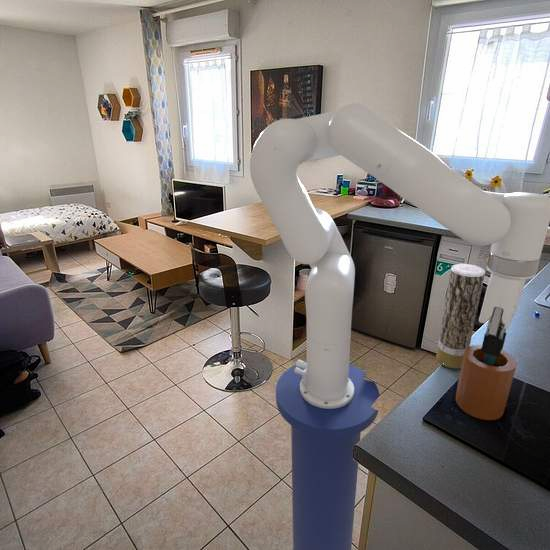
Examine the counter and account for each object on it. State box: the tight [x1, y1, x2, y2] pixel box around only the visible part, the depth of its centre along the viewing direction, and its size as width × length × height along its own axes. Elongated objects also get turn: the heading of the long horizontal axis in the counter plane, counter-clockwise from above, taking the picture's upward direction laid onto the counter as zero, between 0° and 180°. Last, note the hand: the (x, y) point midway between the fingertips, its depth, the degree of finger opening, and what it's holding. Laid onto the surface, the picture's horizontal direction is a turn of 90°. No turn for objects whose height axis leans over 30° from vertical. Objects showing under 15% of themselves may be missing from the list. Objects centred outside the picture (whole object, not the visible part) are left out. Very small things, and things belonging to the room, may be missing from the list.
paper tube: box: [435, 263, 486, 370], centre depth 86 cm, size 7×7×25 cm
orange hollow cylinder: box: [455, 344, 518, 421], centre depth 75 cm, size 9×9×12 cm
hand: (491, 350), depth 72 cm, fingers closed
